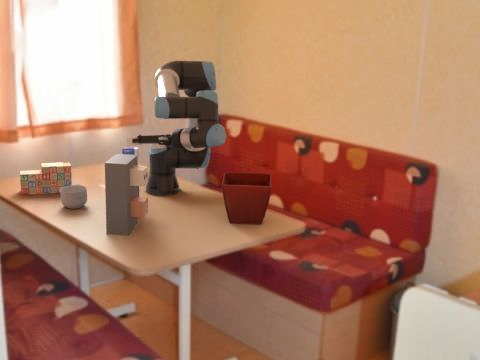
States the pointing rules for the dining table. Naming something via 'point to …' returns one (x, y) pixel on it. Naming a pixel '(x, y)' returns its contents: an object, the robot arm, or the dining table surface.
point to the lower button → (138, 206)
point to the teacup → (74, 196)
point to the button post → (119, 194)
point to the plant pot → (246, 196)
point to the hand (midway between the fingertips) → (140, 143)
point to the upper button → (138, 175)
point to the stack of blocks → (46, 178)
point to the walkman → (130, 151)
